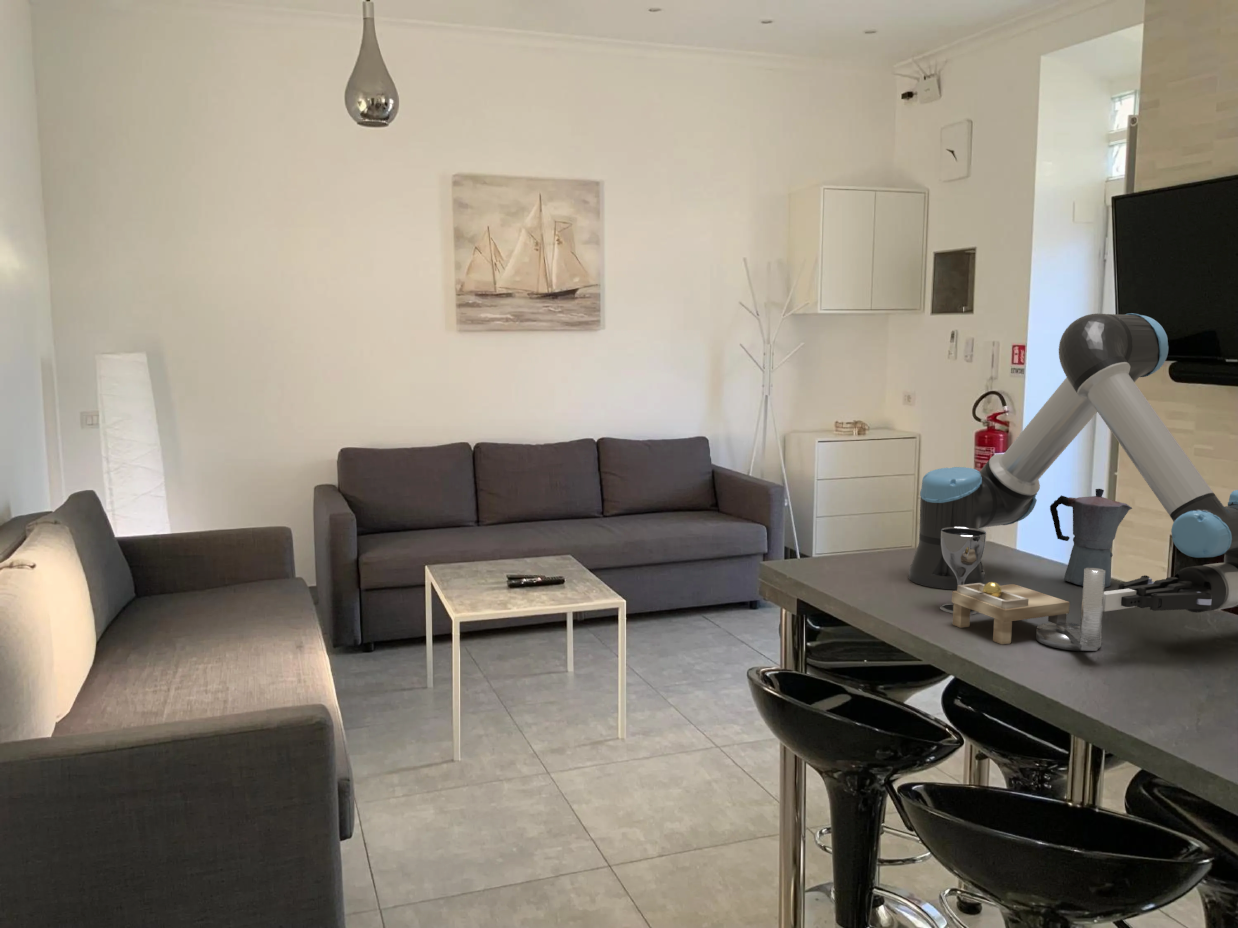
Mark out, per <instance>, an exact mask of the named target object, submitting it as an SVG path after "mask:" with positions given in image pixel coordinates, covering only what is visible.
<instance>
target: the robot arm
mask: <svg viewBox="0 0 1238 928" xmlns="http://www.w3.org/2000/svg"><path fill="white" fill-rule="evenodd" d="M1168 340H1169V339H1168V335H1167V333H1166V331H1165V329H1164V328H1163V326H1162V325H1161V324H1160V323H1159V322H1158V321H1157V320H1155V319H1154V318H1152V317H1150V316H1147V315H1143V314H1139V313H1132V312H1131V313H1126V314H1114V313H1113V314H1109V313H1090V314H1086V315H1084V316H1081V317H1079V318H1076V319H1075V320H1074V321H1073V322H1071V323H1070V324H1069V325H1068V326H1067V327H1066V329H1065V330H1064V331H1063V333H1062V335H1061V337H1060V339H1059V345H1058V358H1059V363H1060V366H1061V368H1062V370H1063V373H1064V374H1065V379H1064V380H1063V381H1062V382H1061V383H1060V385H1059V386H1058V387H1057V388H1056V389H1055V391H1054V392H1053V393H1052V394H1051V396H1049V398H1048V399H1047V401H1046V402H1045V403H1044V404H1043V406H1042V407H1041V408H1040V409H1039V410H1038V412H1037V413H1036V414H1035V416H1033V418H1032V419H1031V420H1030V422H1028V424H1027V425H1025V427H1024V428H1023V430H1022V431H1021V432H1020V433H1019V434H1018V436H1017V437H1016V439H1015V440H1014V441H1013V442H1012V443H1011V445H1009V447H1008V449H1007V450H1006V451H1004V453H998V454H993V455H992V456H991V457H990V458H989V460H988V461H987V462H986V463H985V464H984V465H983V466H982V468H981V469H980V470H978V469H975V468H972V467H965V466H963V467H962V466H961V467H960V466H954V467H942V468H937V469H933V470H930V471H929V472H927V473H925V475H924V476H923V477H922V481H921V488H920V490H919V491H920V493H919V495H920V499H919V500H920V501H919V502H920V503H919V504H920V505H919V506H920V507H919V511H920V512H919V538H918V544H917V548H916V550H915V553H914V555H913V559H912V562H911V564H910V565H909V569H908V580H910V581H911V582H913V583H915V584H917V585H921V586H925V587H928V588H935V589H943V590H945V589H946V590H957V586H958V583H957V578H956V576H955V574H954V572H953V571H952V570H951V568H950V567H949V566H948V565H947V563H946V562H945V560H944V558H943V555H942V550H941V529H943V528H947V527H967V528H975V529H981V528H989V527H997V526H1008V525H1012V524H1014V523H1018V522H1019V521H1022V520H1024V519H1026V518H1027V517H1028V516H1030V514H1031V513H1032V512H1033V510H1034V508H1035V506H1036V503H1037V498H1036V496H1037V495H1038V492H1039V490H1040V487H1041V485H1040V484H1041V483H1040V481H1039V480H1040V478H1042V476H1043V475H1044V474H1045V472H1046V471H1047V470H1048V469H1049V468H1050V467H1051V466H1052V465H1053V463H1055V461H1056V460H1057V459H1058V458H1059V457H1060V455H1062V453H1063V452H1064V451H1065V450H1066V449H1067V447H1068V446H1069V445H1070V444H1071V443H1072V442H1073V441H1074V439H1075V438H1076V437H1077V436H1078V435H1079V434H1080V433H1081V432H1082V430H1083V429H1084V428H1085V427H1086V426H1087V425H1088V424H1089V423H1090V421H1091V420H1092V419H1093V418H1094V417H1095V415H1096V414H1097V413H1098V414H1099V416H1100V418H1101V419H1102V420H1103V422H1104V423H1105V424H1106V426H1107V428H1108V429H1109V430H1110V432H1111V433H1112V435H1113V436H1114V438H1115V439H1116V440H1117V442H1118V444H1119V445H1120V447H1122V449H1123V451H1124V452H1125V454H1126V455H1127V456H1128V458H1129V459H1130V461H1131V462H1132V464H1133V465H1134V467H1135V468H1136V469H1137V470H1138V473H1139V474H1140V476H1142V478H1143V479H1144V481H1145V483H1146V484H1147V485H1148V486H1149V488H1150V490H1151V491H1152V492H1153V494H1154V495H1155V497H1156V498H1157V500H1158V501H1159V502H1160V504H1161V506H1163V508H1164V509H1165V511H1166V512H1167V514H1168V516H1169V517H1170V518H1171V520H1172V522H1173V523H1172V525H1171V529H1170V531H1171V537H1172V542H1173V544H1174V546H1175V547H1176V549H1178V551H1180V552H1181V553H1182V554H1184V555H1186V556H1188V557H1190V558H1191V557H1192V558H1198V559H1199V558H1215V557H1218V556H1219V557H1220V556H1221V555H1224V558H1223V562H1218V563H1217V562H1215V563H1209V564H1202V565H1195V566H1194V565H1193V566H1188V567H1187V566H1186V567H1184V568H1181V569H1180V570H1178V571H1177V573H1175V575H1174V576H1170V577H1166V578H1162V579H1157V580H1154V581H1153V578H1151V577H1150V576H1148V575H1145V574H1144V575H1142V576H1140V577H1139V578H1136V579H1133V580H1128V581H1126V582H1121V583H1118V584H1117V589H1115V590H1106V591H1105V590H1104V599H1103V612H1110V611H1117V610H1118V611H1119V610H1124V609H1132V608H1133V609H1134V608H1136V607H1137V608H1140V609H1146V608H1149V610H1151V611H1153V612H1156V611H1178V610H1179V611H1180V610H1181V611H1182V610H1186V611H1189V612H1190V613H1205V612H1210V611H1214V612H1221V611H1222V610H1224V609H1230V608H1236V607H1238V489H1235V490H1233V491H1231V493H1230V494H1229V499H1228V502H1227V505H1226V506H1224V504H1223V503H1222V502H1221V501H1220V499H1219V497H1218V496H1217V495H1216V494H1215V493H1214V491H1213V489H1212V488H1211V487H1210V485H1209V484H1208V483H1207V481H1206V480H1205V479H1204V477H1203V476H1202V474H1201V473H1200V472H1199V471H1198V469H1197V467H1196V466H1195V465H1194V464H1193V462H1192V461H1191V460H1190V457H1188V455H1187V453H1186V452H1185V451H1184V450H1183V448H1182V446H1181V445H1180V444H1179V443H1178V441H1177V440H1176V439H1175V437H1174V436H1173V434H1172V433H1171V432H1170V430H1169V428H1168V427H1167V426H1166V424H1165V423H1164V421H1163V420H1162V419H1161V417H1160V416H1159V415H1158V413H1157V412H1156V410H1155V409H1154V408H1153V406H1152V404H1151V403H1150V402H1149V401H1148V399H1147V398H1146V396H1145V395H1144V393H1143V392H1142V391H1141V390H1140V388H1139V387H1138V385H1137V384H1136V381H1137V380H1138V379H1139V378H1146V377H1148V376H1150V375H1152V374H1155V373H1156V372H1157V371H1159V370H1160V369H1161V368H1162V366H1163V365H1164V364H1165V361H1167V358H1168V354H1169V342H1168ZM985 582H986V573H985V569H984V568H983V563H982V561H981V562H980V563H979V564H978V565H977V566H976V567H975V568H974V569H973V570H972V571H971V572H970V573H969V575H968V576H967V577H966V579H965V582H964V585H966V584H974V583H982V584H986V583H985Z"/></svg>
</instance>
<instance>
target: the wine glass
mask: <svg viewBox="0 0 1238 928" xmlns="http://www.w3.org/2000/svg"><path fill="white" fill-rule="evenodd" d="M986 532H987V531H985V530H982V529H981V528H978V529H975V528H967V527H947V528H943V529H941V550H942V555H943V558H944V560H945V562H946V563H947V565H948V566H949V567H950V568H951V570H952V571H953V572H954V574H955V576H956V578H957V583H958V585H964V582H965V579H966V577H967V576H968V575H969V573H970V572H971V571H972V570H973V569H974V568H975V567H976V566H977V565H978V564H979V563H980V562H982V559H983V556H984V554H985V548H986V539H987V533H986ZM953 606H954V603H946V604H941V605H940V606H939V609H940V610H941V611H942V612H945V613H949V614H953ZM976 614H979V612H977V611H974V610H971V609H970V616H971V615H976Z"/></svg>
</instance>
